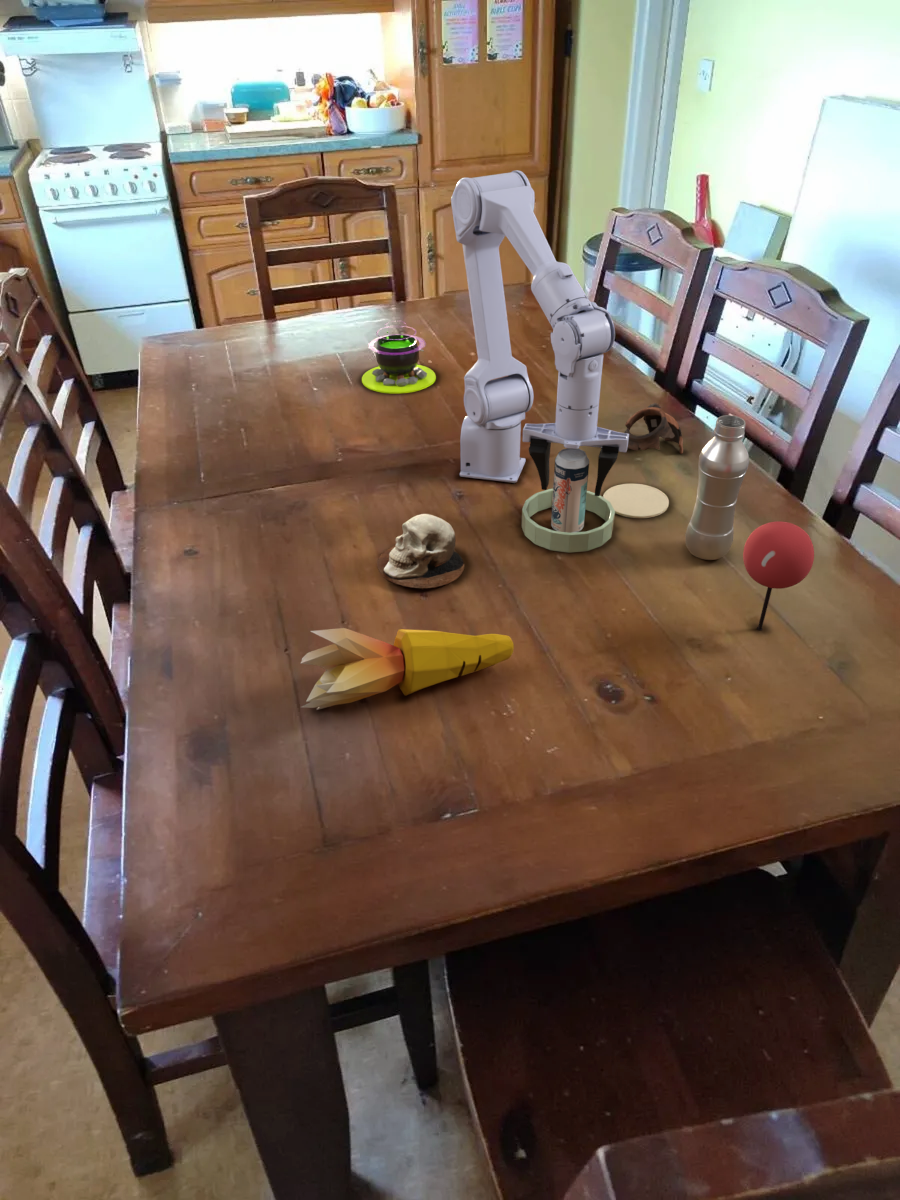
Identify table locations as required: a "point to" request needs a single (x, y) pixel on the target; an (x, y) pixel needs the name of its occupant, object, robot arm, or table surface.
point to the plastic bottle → (718, 490)
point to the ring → (565, 539)
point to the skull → (422, 554)
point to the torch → (397, 662)
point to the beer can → (569, 490)
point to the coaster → (637, 500)
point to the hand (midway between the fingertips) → (571, 489)
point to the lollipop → (778, 557)
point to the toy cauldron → (398, 365)
